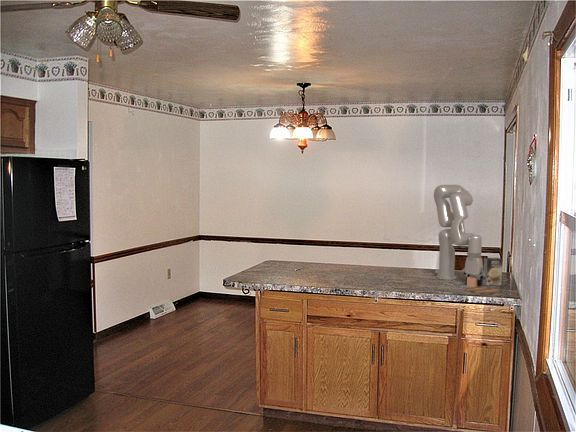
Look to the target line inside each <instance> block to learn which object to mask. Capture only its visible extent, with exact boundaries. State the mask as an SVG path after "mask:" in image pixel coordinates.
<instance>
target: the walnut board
mask: <svg viewBox="0 0 576 432" xmlns="http://www.w3.org/2000/svg"><path fill="white" fill-rule="evenodd" d="M501 291H502V290H501V289H496V288H492V287H487V286H482V285H481V286H477V287H467V288H464V292H469V293H471V294H477V295H482V296H490V295H494V294H495V295H496V294H499V292H500V293H501Z"/></svg>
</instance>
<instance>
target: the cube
mask: <svg viewBox="0 0 576 432" xmlns="http://www.w3.org/2000/svg"><path fill="white" fill-rule="evenodd" d="M477 280H478V277H477V276H476V275H470V276H469V277H467V284H466V287H468V288H472V287H477Z"/></svg>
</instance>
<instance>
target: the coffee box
mask: <svg viewBox="0 0 576 432" xmlns="http://www.w3.org/2000/svg"><path fill="white" fill-rule="evenodd" d="M483 270H484V272H485V273H486V275H485V277H484V278H483V279H482V284H484V285H485V286H502V279H503V278H502V275H503V259H502V258H500V257H483Z"/></svg>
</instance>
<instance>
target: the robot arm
mask: <svg viewBox="0 0 576 432" xmlns="http://www.w3.org/2000/svg"><path fill="white" fill-rule="evenodd" d="M433 199H434V203H435V206H436V212H437V218H438V219H437V220H438V224H439V226H440V227H442V228H446V229H442V230H440V231H439V233H438V238H437V239H438V243H439V263H438V269H436V270H435V271H434V274H436V276H435V277H436V279H438V280H439V279H440V280H444V281H445V280H446V281H447V280H448V281H450V280H451V281H452V280H456V279H457V278H458V277H457V276H456V275H455V267H456V266H455V263H456V249H455V247H454V245H455V246H458V247H462V246H463V247H465V246H467V247H468V249H467V252H466V255H467V257H466V259H465V264H464V268H463V269H461V270H462V273H463V275H464V277H465V284H466V285H467V277H471V276H476V277H478V280H477V286H482V284H483V278H484V277H485V275H486V273H485V272H484V261H483V258H482V245H483V242H482V241H483V237H482V236H481V235H480V234H475V233H470V232H467V233H466V229H465V228H466V227H465V220H466V219H467V218H468V217H469V213H468V210H467V209H468V208H467V207H470V206H471V205H472V204H473V201H474V199H473V196H472V194H471V193H470V192H469V191H468V190H467V189H465V188H464V187H463V186H461V185H459V184H441V185H440V184H439V185H438V186H436V187H435V188H434V191H433ZM447 199H449V201H448V200H447ZM449 202H450V203H449Z"/></svg>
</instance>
